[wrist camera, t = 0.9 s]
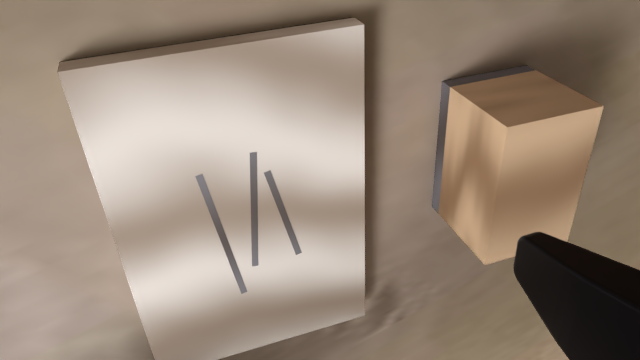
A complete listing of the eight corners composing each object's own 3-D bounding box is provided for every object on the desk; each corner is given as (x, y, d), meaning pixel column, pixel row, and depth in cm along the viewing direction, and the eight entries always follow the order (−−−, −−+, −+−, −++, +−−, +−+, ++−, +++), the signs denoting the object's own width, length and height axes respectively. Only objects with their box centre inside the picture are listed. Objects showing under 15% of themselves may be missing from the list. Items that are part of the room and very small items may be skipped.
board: (358, 302, 30) (365, 315, 29) (158, 361, 27) (160, 376, 26) (354, 17, 21) (364, 24, 20) (59, 62, 18) (57, 72, 18)
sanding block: (504, 186, 29) (567, 240, 25) (430, 204, 28) (484, 265, 24) (525, 64, 25) (603, 105, 21) (441, 80, 24) (507, 127, 20)
